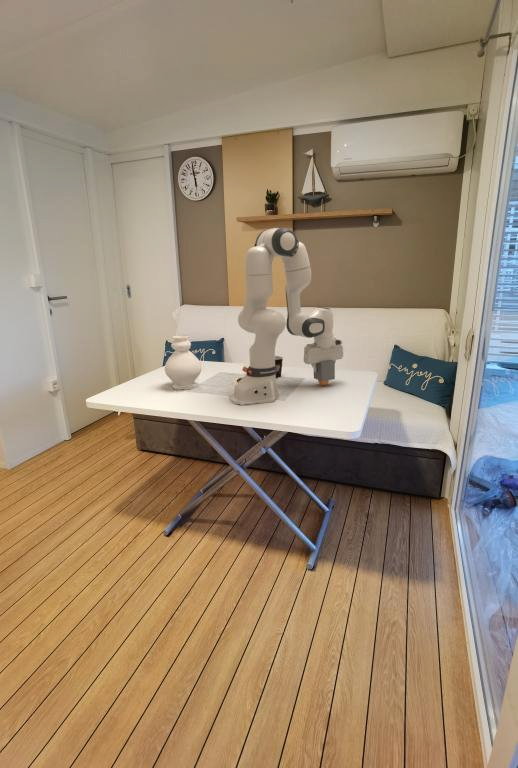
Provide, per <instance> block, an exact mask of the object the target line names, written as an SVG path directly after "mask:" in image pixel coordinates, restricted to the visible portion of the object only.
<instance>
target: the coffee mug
mask: <svg viewBox="0 0 518 768" xmlns="http://www.w3.org/2000/svg"><path fill="white" fill-rule="evenodd" d="M283 359H284V358H283V356H279V355H275V365H276V379H278V377H279V378H281V377H282V369H283V361H284V360H283Z"/></svg>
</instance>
